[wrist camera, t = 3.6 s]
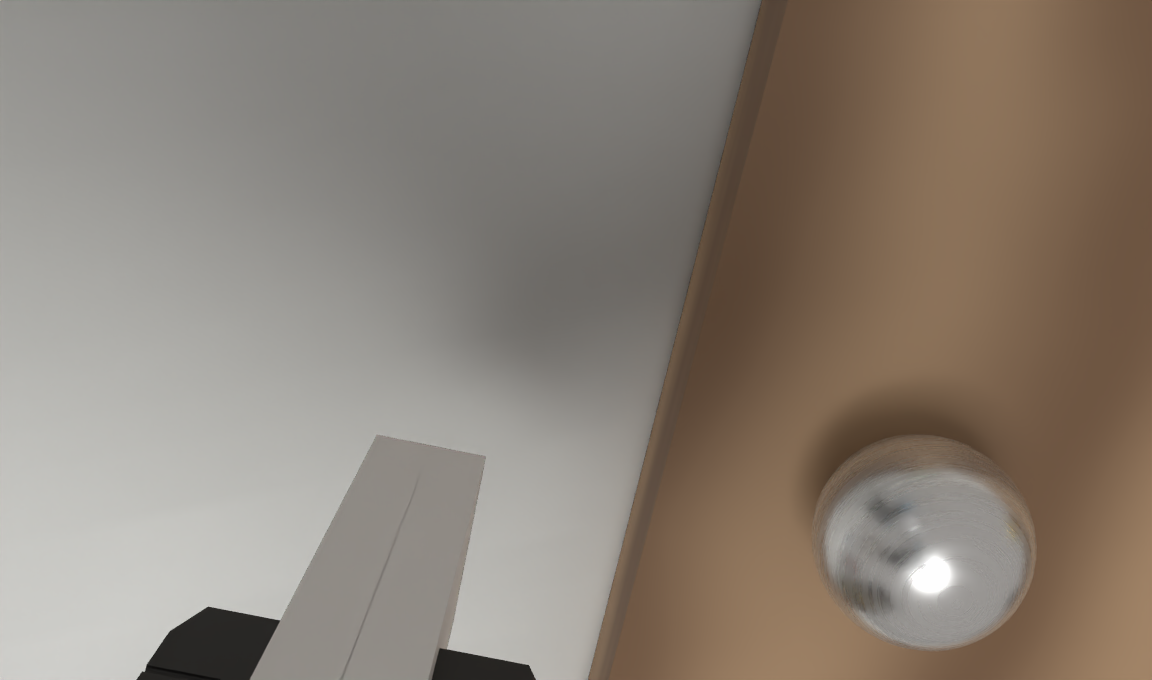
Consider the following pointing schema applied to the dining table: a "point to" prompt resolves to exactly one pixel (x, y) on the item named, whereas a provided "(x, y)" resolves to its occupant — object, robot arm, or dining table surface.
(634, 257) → the dining table surface
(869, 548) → the steel ball
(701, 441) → the wooden board
